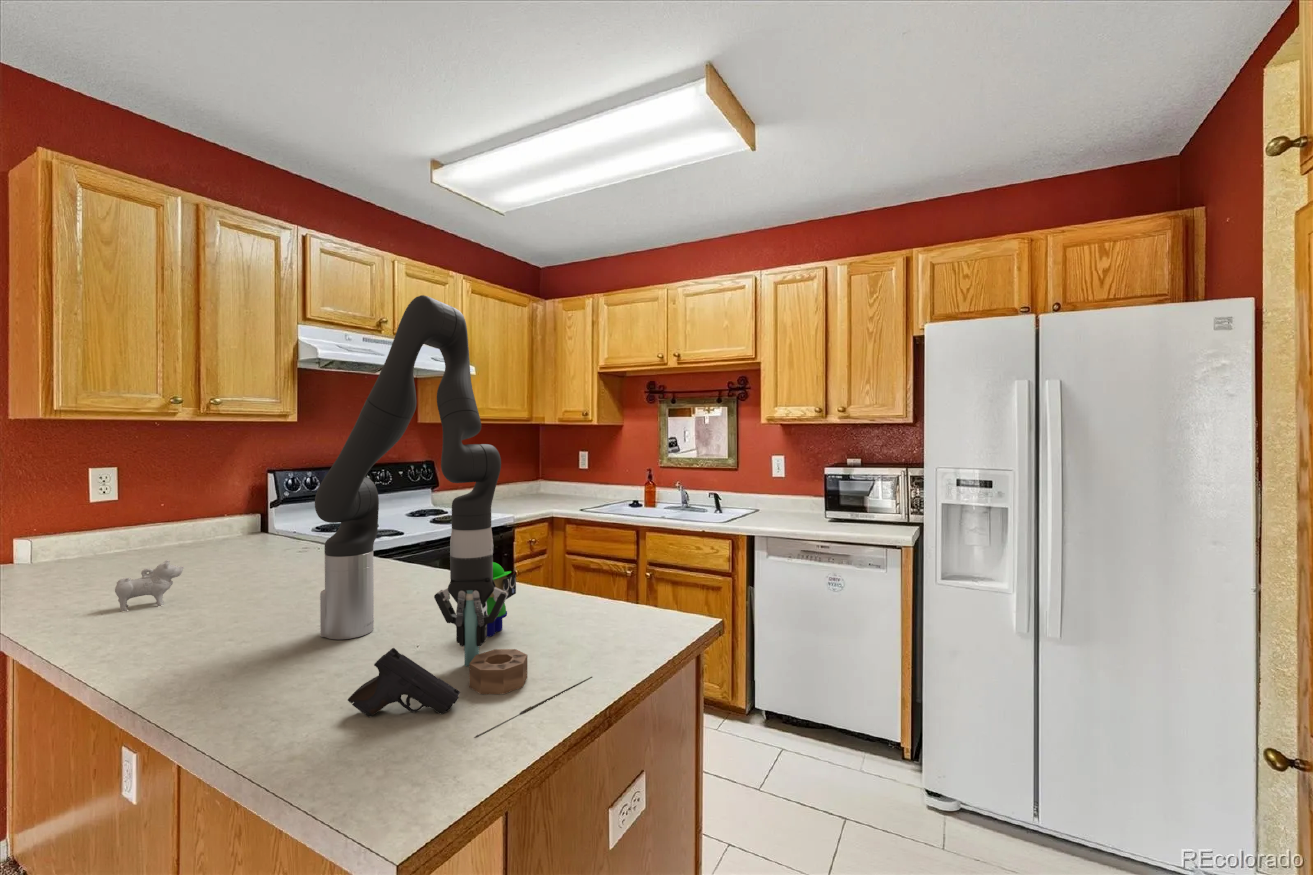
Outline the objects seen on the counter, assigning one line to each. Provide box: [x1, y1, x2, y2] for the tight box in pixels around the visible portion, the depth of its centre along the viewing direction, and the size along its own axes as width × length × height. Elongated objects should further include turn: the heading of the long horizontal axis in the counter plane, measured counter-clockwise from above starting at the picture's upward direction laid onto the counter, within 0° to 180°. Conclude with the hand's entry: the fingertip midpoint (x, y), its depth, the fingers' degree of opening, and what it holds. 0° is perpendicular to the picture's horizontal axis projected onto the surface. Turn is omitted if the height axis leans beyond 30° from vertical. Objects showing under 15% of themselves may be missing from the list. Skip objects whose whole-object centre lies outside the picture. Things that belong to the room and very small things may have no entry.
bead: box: [468, 648, 528, 695], centre depth 99 cm, size 9×9×4 cm
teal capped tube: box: [463, 590, 480, 667], centre depth 107 cm, size 3×3×14 cm
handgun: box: [347, 647, 461, 718], centre depth 89 cm, size 3×14×10 cm
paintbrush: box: [473, 676, 593, 738], centre depth 91 cm, size 1×25×1 cm, turn 145°
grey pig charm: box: [114, 559, 185, 613], centre depth 142 cm, size 5×13×11 cm, turn 131°
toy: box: [486, 561, 517, 638], centre depth 124 cm, size 9×9×15 cm
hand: (472, 644), depth 107 cm, fingers closed on teal capped tube, 2 cm apart
